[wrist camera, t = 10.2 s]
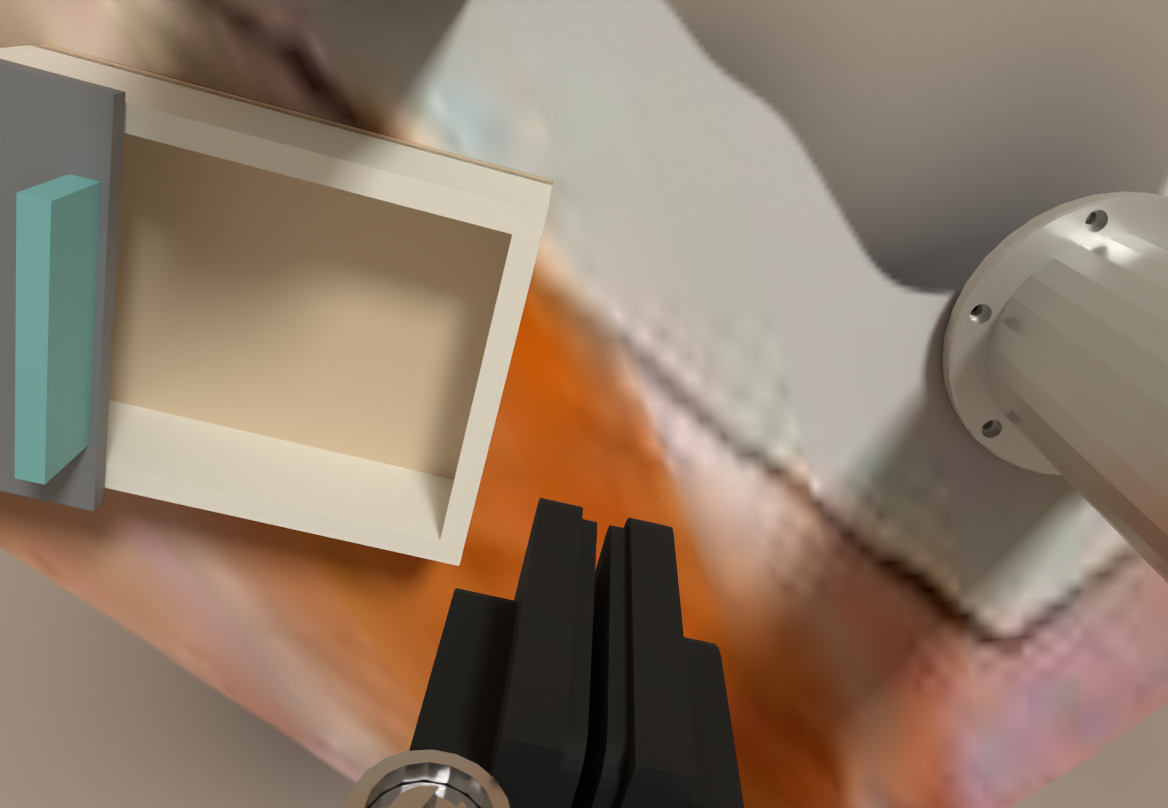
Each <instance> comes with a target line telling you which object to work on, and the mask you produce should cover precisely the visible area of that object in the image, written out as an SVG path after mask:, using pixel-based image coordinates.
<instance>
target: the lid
mask: <svg viewBox="0 0 1168 808" xmlns="http://www.w3.org/2000/svg"><path fill="white" fill-rule="evenodd" d="M125 96H126V92H124V91H120V90H117V89H113V88H109V87H105V86H101V85H98V84H94V83H90V82H86V81H83V80H79V79H75V78H71V77H68V76H64V75H60V74H56V73H53V72H49V71H45V70H41V69H38V68H34V67H30V66H26V65H22V64H19V63H15V62H11V61H7V60H4V59H0V491H3V492H7V493H12V494H16V495H21V496H25V497H30V498H35V499H39V500H44V501H48V502H53V503H58V504H62V505H67V506H71V507H76V508H81V509H85V510H90V511H94V510H95V509H96V508H97V507H98V506H99V505H100V504H101V503H102V502H103V501H104V486H105V467H106V448H107V430H108V411H109V393H110V374H111V356H112V337H113V318H114V300H115V281H116V263H117V244H118V226H119V207H120V188H121V170H122V151H123V133H124V114H125Z"/></svg>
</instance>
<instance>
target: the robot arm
mask: <svg viewBox="0 0 1168 808" xmlns="http://www.w3.org/2000/svg"><path fill="white" fill-rule="evenodd" d="M1090 213H1091V216H1090V218H1089V219H1088V220H1087V221H1086V218H1087V217H1088V215H1089V214H1090ZM977 305H978V308H977V310H976V311H974V312H971V311H972V310H973V308H974V307H975V306H977ZM942 364H943V373H944V382H945V387H946V390H947V393H948V396H949V399H950V401H951V404H952V407H953V409H954V410H955V412H956V414H957V415H958V417H959V418H960V420H961V421H962V423H963V425H964V426H965V427H966V429H967V430H968V431H969V432H970V433H971V434H972V436H973V437H974V438H975V439H976V440H977V441H978V442H979V443H980V444H981V445H982V446H984V447H985V448H986V449H988V450H989V451H990V452H991V453H993V454H994V455H995V456H997V457H998V458H1000V459H1002V460H1004V461H1006V462H1008V463H1010V464H1013V465H1015V466H1017V467H1019V468H1022V469H1026V470H1030V471H1034V472H1038V473H1042V474H1049V475H1062V476H1063V477H1064V478H1065V479H1066V480H1067V481H1068V482H1069V483H1070V484H1071V485H1072V486H1073V487H1074V488H1075V489H1076V490H1077V491H1078V492H1079V493H1080V494H1081V495H1082V496H1083V497H1084V498H1085V499H1086V500H1087V501H1088V502H1089V503H1090V504H1091V505H1092V506H1093V507H1094V508H1095V509H1096V510H1097V511H1098V512H1099V514H1100V515H1101V516H1102V517H1103V518H1104V519H1105V520H1106V521H1107V522H1108V523H1109V524H1110V525H1111V526H1112V527H1113V528H1114V529H1115V530H1116V531H1117V532H1118V533H1119V534H1120V535H1121V536H1122V537H1123V538H1124V539H1125V540H1126V541H1127V542H1128V543H1129V544H1130V545H1131V546H1132V547H1133V548H1134V549H1135V550H1136V551H1137V552H1138V553H1139V554H1140V556H1141V557H1142V558H1143V559H1144V560H1145V561H1146V562H1147V563H1148V564H1149V565H1150V566H1151V567H1152V568H1153V569H1154V570H1155V571H1156V572H1157V573H1158V574H1159V575H1160V576H1161V577H1162V578H1163V579H1164V580H1165V581H1166V582H1167V583H1168V198H1166V197H1162V196H1159V195H1155V194H1151V193H1138V192H1123V191H1122V192H1114V193H1105V194H1096V195H1090V196H1087V197H1084V198H1081V199H1077V200H1074V201H1071V202H1067V203H1064V204H1061V205H1059V206H1057V207H1055V208H1053V209H1051V210H1049V211H1047V212H1045V213H1043V214H1041V215H1039V216H1037V217H1035V218H1033V219H1031V220H1030V221H1028V222H1027V223H1025V224H1024V225H1023V226H1021V227H1020V228H1018V229H1017V230H1016V231H1014V232H1013V233H1011V234H1010V235H1008V236H1007V237H1006V238H1005V239H1004V240H1003V241H1002V242H1001V243H1000V244H999V245H998V246H997V247H996V248H994V249H993V251H991V252H990V253H989V254H988V255H987V256H986V257H985V258H984V259H983V261H982V262H981V263H980V265H979V266H978V267H977V269H976V270H975V271H974V273H973V274H972V275H971V277H970V278H969V279H968V281H967V282H966V284H965V286H964V288H963V290H962V291H961V293H960V295H959V297H958V299H957V301H956V303H955V305H954V307H953V309H952V313H951V316H950V319H949V323H948V326H947V329H946V332H945V337H944V347H943V357H942ZM986 422H987V423H986ZM582 514H583V508H582V507H579V506H575V505H570V504H566V503H561V502H557V501H552V500H548V499H543V498H540V499H539V502H538V506H537V509H536V513H535V517H534V522H533V526H532V530H531V534H530V538H529V542H528V546H527V550H526V554H525V558H524V562H523V566H522V570H521V574H520V578H519V582H518V586H517V590H516V595H515V599H514V601H513V600H508V599H504V598H499V597H494V596H490V595H485V594H481V593H476V592H471V591H467V590H462V589H457V588H456V589H455V591H454V594H453V598H452V601H451V605H450V608H449V612H448V615H447V619H446V622H445V626H444V629H443V633H442V637H441V640H440V644H439V647H438V651H437V654H436V658H435V661H434V665H433V669H432V672H431V676H430V679H429V683H428V686H427V690H426V693H425V697H424V701H423V704H422V708H421V711H420V715H419V718H418V722H417V725H416V729H415V733H414V736H413V740H412V743H411V747H410V750H409V751H406V752H403V753H400V754H397V755H393V756H390V757H387V758H385V759H383V760H382V761H380V762H379V763H377V764H376V765H374V766H373V767H371V768H370V769H368V770H367V771H366V772H365V773H364V774H363V776H362V777H361V778H360V779H359V781H358V782H357V783H356V784H355V786H354V787H353V788H352V790H351V792H350V794H349V795H348V797H347V799H346V801H345V803H344V804H343V806H342V808H744V804H743V798H742V791H741V785H740V778H739V772H738V765H737V758H736V752H735V745H734V739H733V732H732V726H731V719H730V713H729V706H728V700H727V693H726V687H725V680H724V673H723V667H722V660H721V655H720V651H719V648H718V647H717V646H716V645H715V644H713V643H708V642H704V641H699V640H694V639H690V638H685V637H684V635H683V625H682V615H681V605H680V595H679V585H678V575H677V565H676V555H675V545H674V534H673V529H672V527H669V526H665V525H660V524H656V523H651V522H647V521H642V520H638V519H633V518H628V519H627V521H626V523H625V526H624V528H620V527H616V526H611V525H610V526H609V528H608V530H607V533H606V536H605V539H604V543H603V546H602V550H601V553H600V557H599V560H598V564H597V567H596V571H595V563H596V541H597V522H593V521H589V520H584V519H582Z"/></svg>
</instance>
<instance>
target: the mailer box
mask: <svg viewBox="0 0 1168 808" xmlns="http://www.w3.org/2000/svg"><path fill="white" fill-rule="evenodd" d="M0 59H4V60H7V61H11V62H15V63H19V64H22V65H26V66H30V67H34V68H38V69H41V70H45V71H49V72H53V73H56V74H60V75H64V76H68V77H71V78H75V79H79V80H83V81H86V82H90V83H94V84H98V85H101V86H105V87H109V88H113V89H117V90H120V91H124V92H126V96H125V114H124V133H123V151H122V170H121V188H120V207H119V226H118V244H117V263H116V281H115V300H114V318H113V337H112V356H111V374H110V393H109V411H108V430H107V448H106V467H105V486H104V488H109V489H113V490H118V491H122V492H127V493H131V494H136V495H140V496H145V497H149V498H154V499H158V500H163V501H167V502H172V503H176V504H181V505H185V506H190V507H194V508H199V509H204V510H208V511H213V512H217V513H222V514H226V515H231V516H235V517H240V518H244V519H249V520H253V521H258V522H262V523H267V524H271V525H276V526H280V527H285V528H289V529H294V530H299V531H303V532H308V533H312V534H317V535H321V536H326V537H330V538H335V539H339V540H344V541H348V542H353V543H357V544H362V545H366V546H371V547H375V548H380V549H384V550H389V551H394V552H398V553H403V554H407V555H412V556H416V557H421V558H425V559H430V560H434V561H439V562H443V563H448V564H452V565H457V566H459V564H460V560H461V556H462V552H463V548H464V544H465V540H466V536H467V532H468V528H469V524H470V520H471V516H472V512H473V508H474V504H475V500H476V496H477V492H478V488H479V484H480V480H481V476H482V472H483V468H484V464H485V460H486V456H487V452H488V448H489V444H490V440H491V436H492V432H493V428H494V424H495V420H496V416H497V412H498V408H499V404H500V400H501V396H502V392H503V389H504V385H505V381H506V377H507V373H508V369H509V365H510V361H511V357H512V353H513V349H514V345H515V341H516V337H517V333H518V329H519V325H520V321H521V317H522V313H523V309H524V305H525V301H526V297H527V293H528V289H529V285H530V281H531V277H532V273H533V269H534V265H535V261H536V257H537V253H538V249H539V245H540V241H541V237H542V233H543V229H544V225H545V221H546V217H547V212H548V206H549V201H550V195H551V190H552V184H553V180H549V179H545V178H542V177H538V176H534V175H530V174H527V173H523V172H519V171H515V170H512V169H508V168H504V167H501V166H497V165H493V164H489V163H486V162H482V161H478V160H475V159H471V158H467V157H463V156H460V155H456V154H452V153H449V152H445V151H441V150H437V149H434V148H430V147H426V146H422V145H419V144H415V143H411V142H408V141H404V140H400V139H396V138H393V137H389V136H385V135H382V134H378V133H374V132H370V131H367V130H363V129H359V128H356V127H352V126H348V125H344V124H341V123H337V122H333V121H330V120H326V119H322V118H318V117H315V116H311V115H307V114H303V113H300V112H296V111H292V110H289V109H285V108H281V107H277V106H274V105H270V104H266V103H263V102H259V101H255V100H251V99H248V98H244V97H240V96H237V95H233V94H229V93H225V92H222V91H218V90H214V89H210V88H207V87H203V86H199V85H196V84H192V83H188V82H184V81H181V80H177V79H173V78H170V77H166V76H162V75H158V74H155V73H151V72H147V71H144V70H140V69H136V68H132V67H129V66H125V65H121V64H117V63H114V62H110V61H106V60H103V59H99V58H95V57H91V56H88V55H84V54H80V53H77V52H73V51H69V50H65V49H62V48H58V47H54V46H51V45H47V44H38V45H28V46H18V47H8V48H0Z"/></svg>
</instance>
